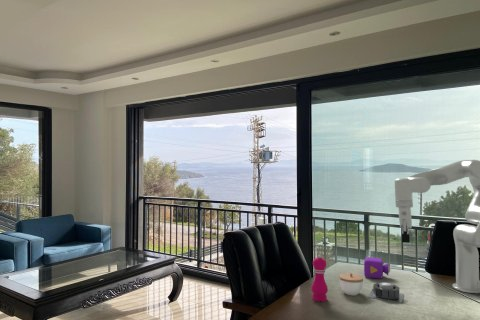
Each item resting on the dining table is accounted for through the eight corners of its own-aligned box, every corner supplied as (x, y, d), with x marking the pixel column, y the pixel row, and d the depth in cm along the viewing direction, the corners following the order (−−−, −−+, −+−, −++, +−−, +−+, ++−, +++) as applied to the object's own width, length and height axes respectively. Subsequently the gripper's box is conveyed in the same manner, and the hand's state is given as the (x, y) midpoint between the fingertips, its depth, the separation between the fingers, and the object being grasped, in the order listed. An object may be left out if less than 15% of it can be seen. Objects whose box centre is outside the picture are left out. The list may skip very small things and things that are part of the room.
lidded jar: (364, 291, 170) (364, 271, 170) (361, 298, 160) (361, 277, 160) (341, 288, 174) (341, 269, 174) (337, 295, 164) (337, 274, 165)
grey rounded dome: (393, 292, 165) (393, 283, 165) (392, 296, 159) (392, 287, 160) (380, 290, 168) (380, 281, 168) (378, 294, 162) (378, 285, 162)
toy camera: (392, 280, 187) (392, 261, 187) (365, 278, 190) (365, 260, 190) (387, 274, 198) (387, 256, 198) (362, 273, 200) (362, 255, 201)
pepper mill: (328, 297, 161) (328, 253, 162) (327, 302, 155) (326, 256, 155) (312, 295, 164) (312, 252, 164) (310, 300, 157) (310, 255, 157)
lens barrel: (403, 294, 165) (403, 285, 166) (402, 303, 155) (401, 293, 155) (372, 289, 172) (372, 280, 172) (368, 297, 162) (368, 287, 162)
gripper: (412, 205, 162) (414, 246, 162) (413, 202, 175) (415, 239, 175) (394, 205, 165) (396, 244, 165) (396, 202, 179) (398, 238, 178)
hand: (405, 242), depth 170 cm, fingers closed
